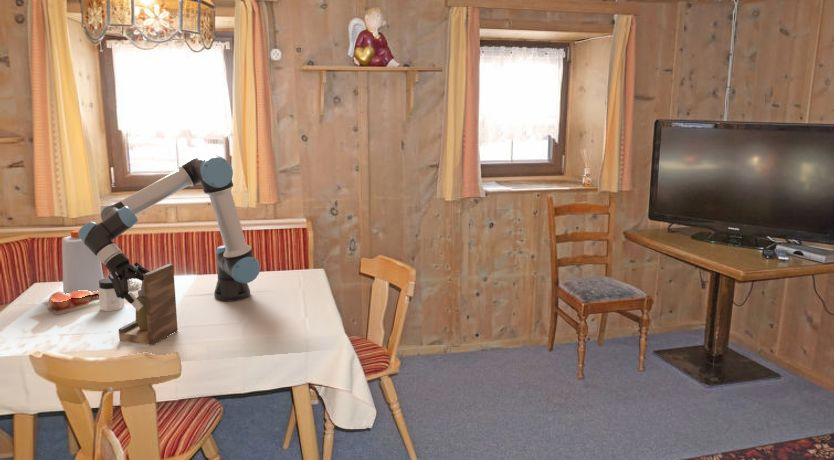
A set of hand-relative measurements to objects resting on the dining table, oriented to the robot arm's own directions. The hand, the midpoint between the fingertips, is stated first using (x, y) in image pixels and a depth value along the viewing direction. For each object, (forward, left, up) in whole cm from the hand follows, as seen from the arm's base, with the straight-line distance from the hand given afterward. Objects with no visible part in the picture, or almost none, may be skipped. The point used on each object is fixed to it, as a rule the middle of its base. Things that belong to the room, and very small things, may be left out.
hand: (153, 302), depth 222 cm
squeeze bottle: (+2, -1, -10) cm, 11 cm away
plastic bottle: (+45, -53, -13) cm, 71 cm away
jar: (+26, -32, -13) cm, 44 cm away
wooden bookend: (+2, -1, -13) cm, 13 cm away
